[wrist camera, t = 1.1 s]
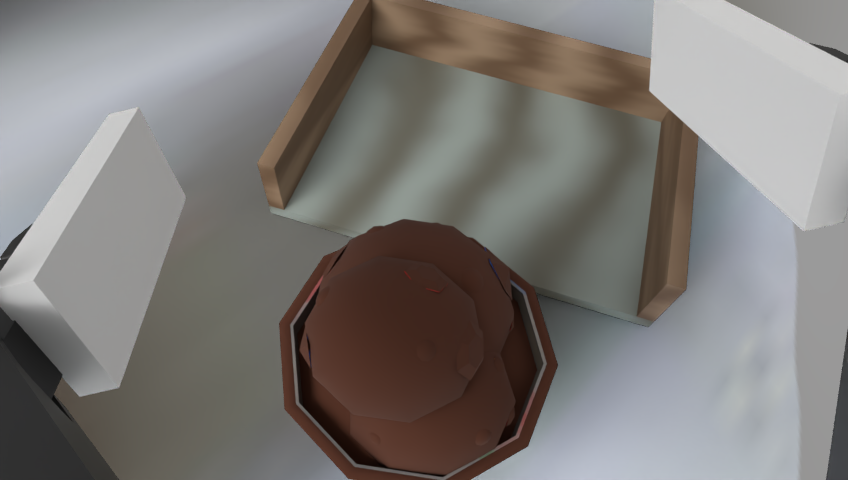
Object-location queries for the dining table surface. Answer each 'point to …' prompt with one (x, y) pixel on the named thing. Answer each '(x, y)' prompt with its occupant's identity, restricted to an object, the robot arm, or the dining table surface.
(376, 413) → the ice cream bowl
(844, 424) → the robot arm
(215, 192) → the dining table surface
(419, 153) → the bay
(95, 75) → the dining table surface
